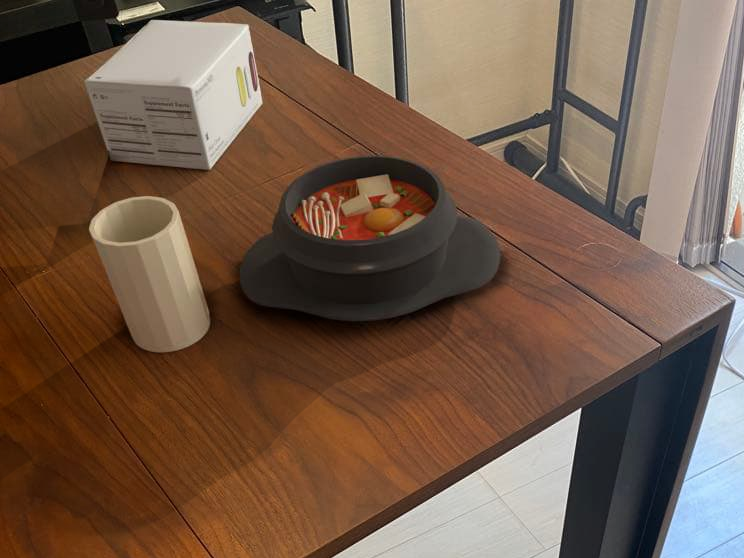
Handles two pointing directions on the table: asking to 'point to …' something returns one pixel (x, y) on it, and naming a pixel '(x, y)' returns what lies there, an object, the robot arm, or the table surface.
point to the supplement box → (176, 93)
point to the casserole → (367, 243)
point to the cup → (152, 272)
